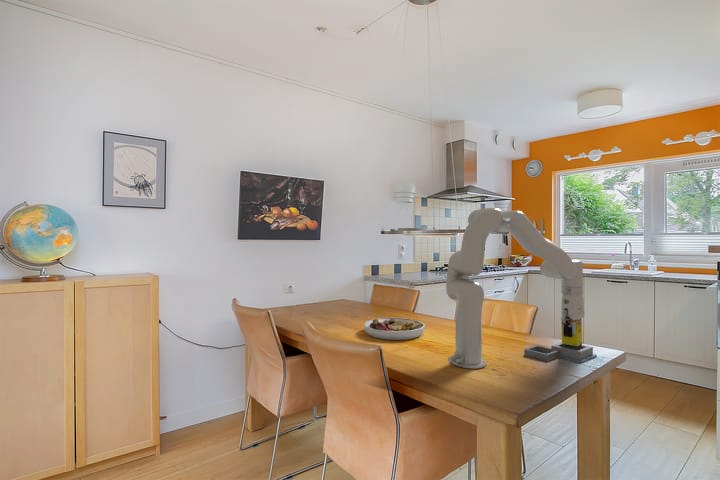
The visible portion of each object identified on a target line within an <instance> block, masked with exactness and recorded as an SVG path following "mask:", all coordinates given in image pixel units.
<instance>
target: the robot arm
mask: <svg viewBox="0 0 720 480" xmlns="http://www.w3.org/2000/svg"><path fill="white" fill-rule="evenodd" d="M467 223H468V225H467V226H466V228H465V229H464V232H463V236H462V241H461V247H460V248H461V249H460V250H457V251H455V252H453V253H452V255H450V257H449V260H448V264H447V271H446V273H447V274H446V282H445V283H446V284H445V290H446V291H445V292H446V295H447V296H448V297H449V298H450V299H451V300H452V301H454V302H456V303H457V306H456V310H455V316H454V317H455V321H454V322H455V351H454V352H453V355H451V356H449V357H447V361H448V363H452V365H454V366H457V367H459V368H463V369H469V370H471V369H472V370H473V369H481V368H485V367H486V366H487V361H486V360H485V359H484V358H483V357H482V356H483V353H482V349H483V348H482V344H483V341H482V340H483V339H482V338H483V337H482V335H483V334H482V332H483V329H482V328H483V327H482V323H483V322H482V319H483V317H482V315H483V313H482V312H483V305H484V300H485V292H484V288H483V287H482V285H481V283H479V282H477V281H475V280H471V279H470V277H477V276H478V275H480V274H481V273H482V271H483V268H484V262H485V261H484V259H485V249H486V243H487V239H488V237H489V236H490V234H491V233H510V235H511V236H512V237H513V239H515V240H516V242H517V243H518V244H519V245H520V247H521V248H522V249H523V250H524V251H525V252H527V253H530V254H531V255H533V256H536V257H539V258H541V259H542V260H544V261H542V263H541V264H540V266H539V272H540V273H541V275H543V276H544V277H545V278H549V279H553V280H554V279H555V280H556V279H557V280H561V292H560V293H561V295H562V296H561V297H562V298H561V306H560V307H561V308H560V309H561V313H560V315H561V317H560V320H562V323H563V335H564V336H566V337H572V327H571V325H572V320H574V321H575V320H578V319H583V318H584V317H585V302H584V266H583V265H584V264H583V261H581V260H578V259H572V258H571V257H570V255H568V254H567V253H566V251H565V250H563V248H561V247H560V246H558V245H557V244H556V243H554V242H553V241H551V240H549V239H547V238H546V237H544V235H543V234H542V233H541V232H540V230H538V229H537V227H536V226H535V225H534V224H533V222H532V221H531V219H529V218H528V216H527V215H526V214H525V213H524V212H523V211H521V210H509V211H508V210H507V211H506V210H505V211H502V209H500V208H498V207H487V208H479V209H475V210H473V211H472V212H471V213H469V214H468V217H467ZM567 318H570V319H567ZM568 321H569V322H568Z"/></svg>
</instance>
